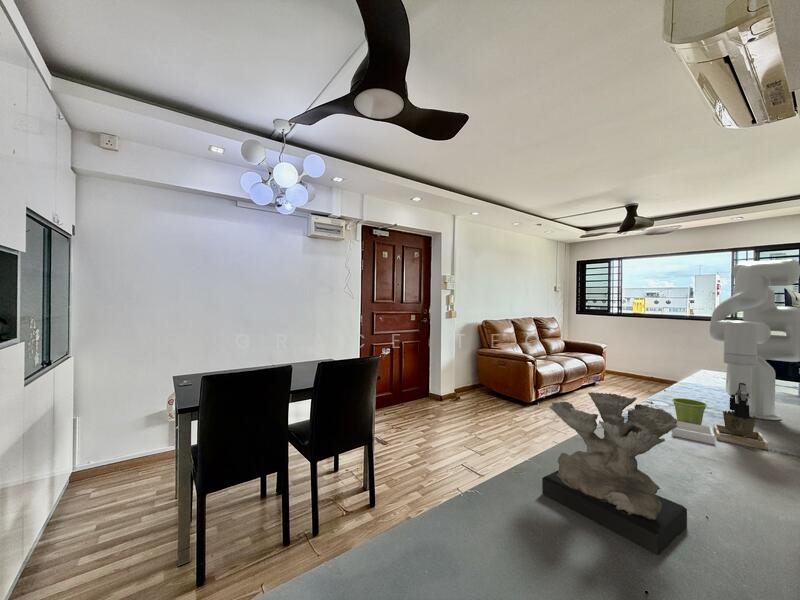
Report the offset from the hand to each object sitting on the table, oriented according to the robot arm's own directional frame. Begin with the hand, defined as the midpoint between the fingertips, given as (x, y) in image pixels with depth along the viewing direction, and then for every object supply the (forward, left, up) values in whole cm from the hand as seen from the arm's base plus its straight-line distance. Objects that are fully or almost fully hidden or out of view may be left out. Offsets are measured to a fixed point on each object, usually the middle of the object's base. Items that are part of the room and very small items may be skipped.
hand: (738, 414), depth 108 cm
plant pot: (-4, -12, -8) cm, 15 cm away
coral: (+66, -27, -8) cm, 72 cm away
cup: (-1, 0, -8) cm, 8 cm away
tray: (+5, -11, -8) cm, 15 cm away
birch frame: (-1, 0, -8) cm, 8 cm away
